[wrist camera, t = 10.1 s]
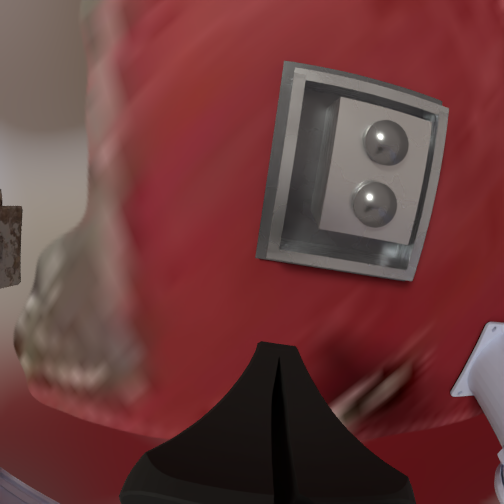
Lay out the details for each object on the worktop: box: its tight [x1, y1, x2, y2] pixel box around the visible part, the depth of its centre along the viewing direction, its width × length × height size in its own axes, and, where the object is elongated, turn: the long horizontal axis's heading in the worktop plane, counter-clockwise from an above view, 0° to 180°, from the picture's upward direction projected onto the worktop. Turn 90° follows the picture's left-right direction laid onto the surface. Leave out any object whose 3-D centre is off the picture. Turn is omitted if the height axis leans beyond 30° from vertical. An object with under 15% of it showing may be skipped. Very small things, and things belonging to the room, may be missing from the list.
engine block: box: [311, 97, 432, 245], centre depth 15 cm, size 4×6×5 cm
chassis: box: [255, 61, 449, 281], centre depth 17 cm, size 10×12×3 cm
